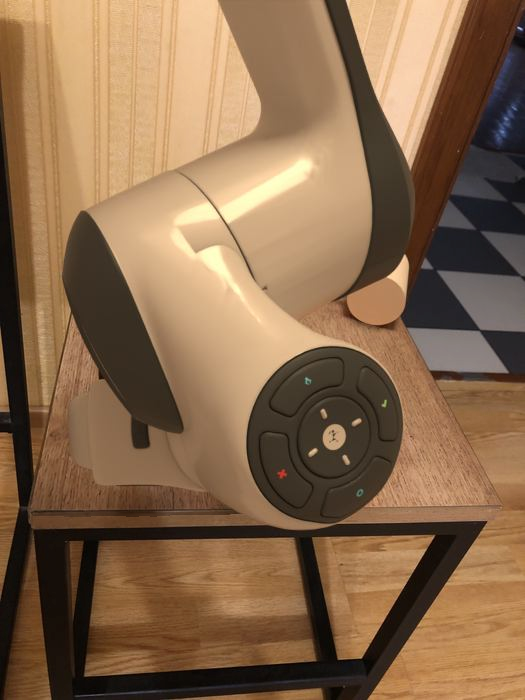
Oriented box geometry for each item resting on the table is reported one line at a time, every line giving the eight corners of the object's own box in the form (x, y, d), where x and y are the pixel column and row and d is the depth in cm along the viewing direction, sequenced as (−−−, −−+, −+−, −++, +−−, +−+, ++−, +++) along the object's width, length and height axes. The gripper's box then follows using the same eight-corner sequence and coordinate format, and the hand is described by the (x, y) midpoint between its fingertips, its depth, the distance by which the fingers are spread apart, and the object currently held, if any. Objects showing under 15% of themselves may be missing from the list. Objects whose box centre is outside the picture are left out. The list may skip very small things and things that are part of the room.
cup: (313, 293, 84) (324, 261, 92) (383, 334, 85) (389, 299, 93) (343, 250, 79) (352, 220, 86) (417, 294, 80) (420, 261, 88)
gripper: (372, 364, 41) (300, 372, 54) (63, 381, 34) (67, 386, 47) (379, 455, 40) (305, 441, 53) (67, 489, 34) (70, 464, 47)
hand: (191, 415), depth 50 cm, fingers open, 8 cm apart
